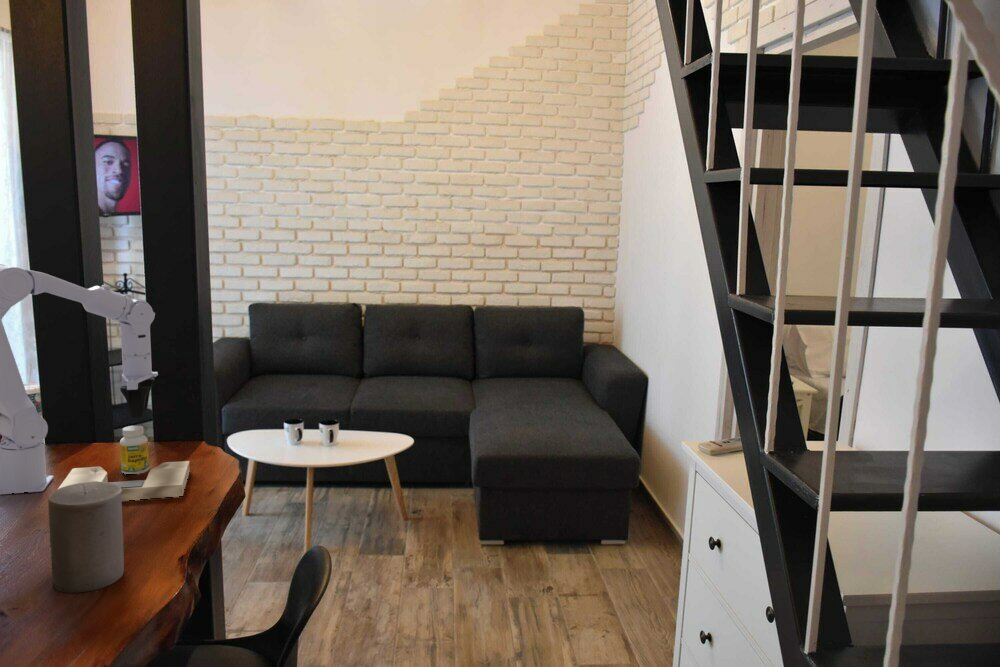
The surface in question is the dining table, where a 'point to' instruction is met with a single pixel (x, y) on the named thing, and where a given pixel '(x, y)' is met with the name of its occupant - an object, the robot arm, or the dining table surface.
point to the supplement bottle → (134, 450)
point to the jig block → (140, 481)
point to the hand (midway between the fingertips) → (139, 413)
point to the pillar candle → (86, 536)
